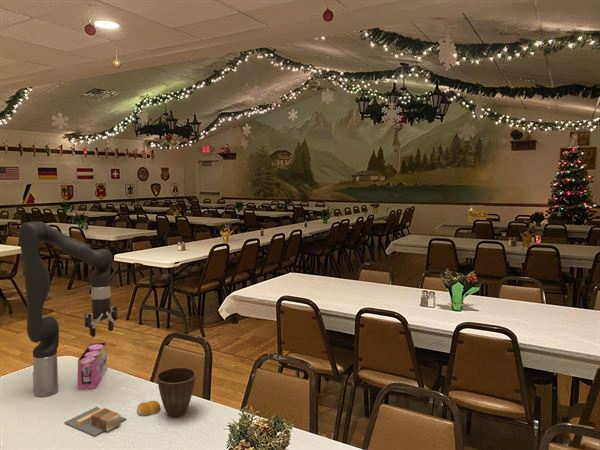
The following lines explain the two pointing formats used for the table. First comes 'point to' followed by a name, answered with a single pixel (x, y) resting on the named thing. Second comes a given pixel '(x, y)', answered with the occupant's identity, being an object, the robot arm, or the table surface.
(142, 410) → the bread roll
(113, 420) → the brown wooden block
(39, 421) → the table surface
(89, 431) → the mat
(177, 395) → the plant pot
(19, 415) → the table surface
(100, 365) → the gum box
